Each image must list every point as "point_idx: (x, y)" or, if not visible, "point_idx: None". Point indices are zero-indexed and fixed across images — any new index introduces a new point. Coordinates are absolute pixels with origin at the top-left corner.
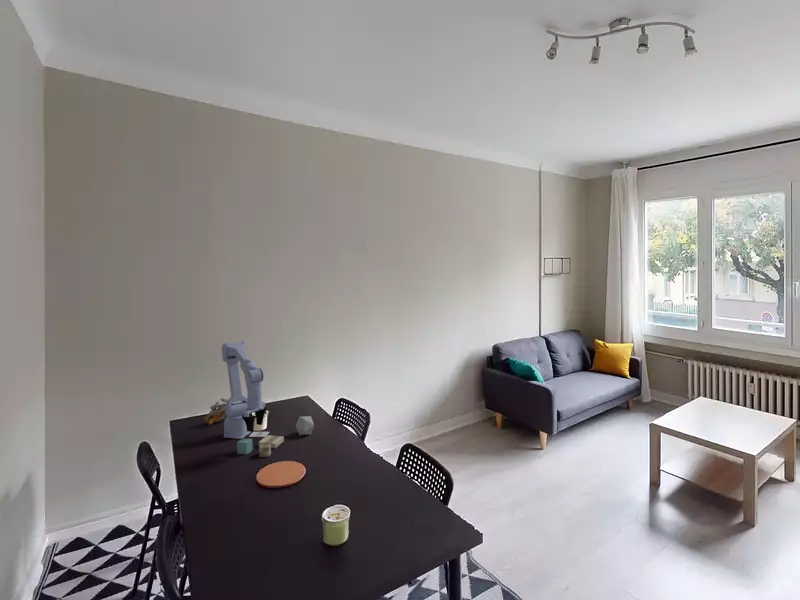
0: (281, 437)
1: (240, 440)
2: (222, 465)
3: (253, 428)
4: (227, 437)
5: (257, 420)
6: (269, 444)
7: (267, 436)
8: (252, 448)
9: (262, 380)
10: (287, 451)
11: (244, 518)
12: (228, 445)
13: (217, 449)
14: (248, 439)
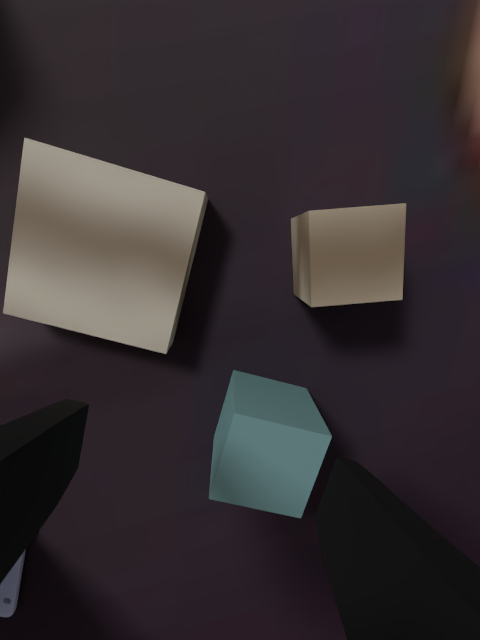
0: (52, 157)
1: (264, 502)
2: (449, 483)
3: (360, 476)
4: (19, 587)
5: (37, 517)
6: (335, 217)
7: (33, 307)
8: (235, 375)
9: None
10: (288, 67)
11: None
12: (146, 541)
13: (208, 579)
14: (246, 443)
